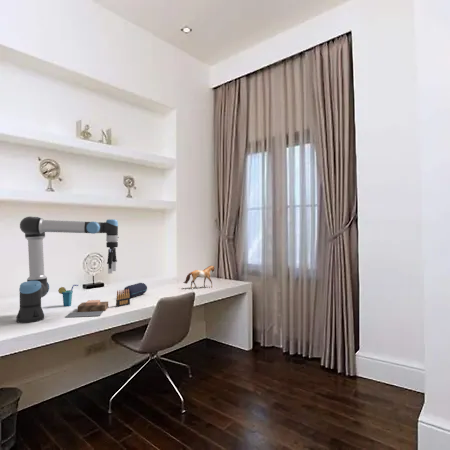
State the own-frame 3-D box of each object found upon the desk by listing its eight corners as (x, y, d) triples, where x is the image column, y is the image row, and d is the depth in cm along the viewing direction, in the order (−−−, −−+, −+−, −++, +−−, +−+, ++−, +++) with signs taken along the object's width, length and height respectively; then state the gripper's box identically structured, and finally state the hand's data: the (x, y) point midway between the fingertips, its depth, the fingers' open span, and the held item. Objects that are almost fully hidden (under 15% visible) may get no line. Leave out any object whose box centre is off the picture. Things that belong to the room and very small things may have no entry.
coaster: (85, 305, 232) (85, 302, 232) (88, 303, 240) (88, 300, 240) (97, 305, 234) (97, 302, 234) (100, 302, 242) (100, 299, 242)
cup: (76, 303, 259) (76, 283, 259) (80, 304, 253) (80, 284, 254) (56, 306, 249) (56, 285, 249) (60, 307, 244) (60, 286, 244)
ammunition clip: (128, 304, 255) (128, 288, 255) (130, 304, 253) (130, 288, 254) (115, 306, 246) (115, 290, 247) (117, 307, 245) (117, 290, 245)
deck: (77, 312, 231) (77, 306, 231) (82, 308, 242) (82, 302, 242) (105, 310, 233) (105, 305, 234) (108, 307, 245) (108, 301, 245)
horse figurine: (214, 286, 331) (214, 265, 332) (217, 287, 324) (216, 266, 324) (183, 288, 321) (183, 266, 321) (185, 289, 314) (185, 267, 314)
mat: (65, 317, 216) (65, 317, 216) (70, 313, 228) (70, 312, 228) (99, 316, 220) (99, 315, 220) (103, 311, 231) (103, 311, 231)
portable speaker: (138, 293, 299) (138, 281, 299) (148, 293, 295) (148, 282, 295) (120, 298, 275) (120, 286, 275) (131, 299, 272) (131, 287, 272)
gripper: (114, 242, 224) (114, 274, 224) (120, 241, 249) (120, 270, 248) (102, 242, 223) (102, 274, 223) (110, 241, 248) (110, 270, 247)
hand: (112, 272), depth 236 cm, fingers open, 13 cm apart
